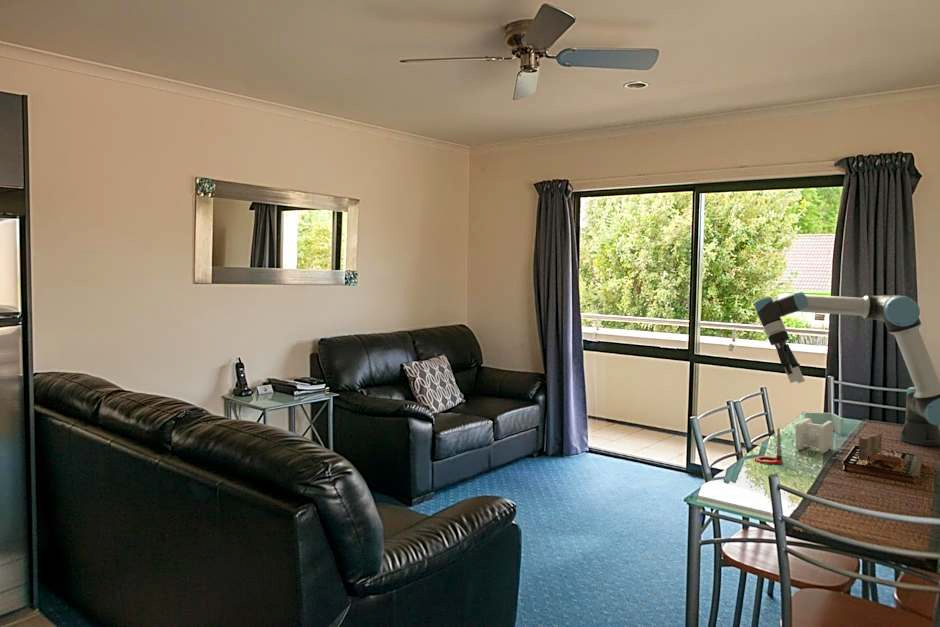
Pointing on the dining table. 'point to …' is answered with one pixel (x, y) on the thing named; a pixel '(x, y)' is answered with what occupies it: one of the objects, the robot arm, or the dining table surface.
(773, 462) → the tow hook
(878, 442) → the keeper stop
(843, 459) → the dining table surface
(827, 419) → the l-shaped corner panel
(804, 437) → the cable organizer
